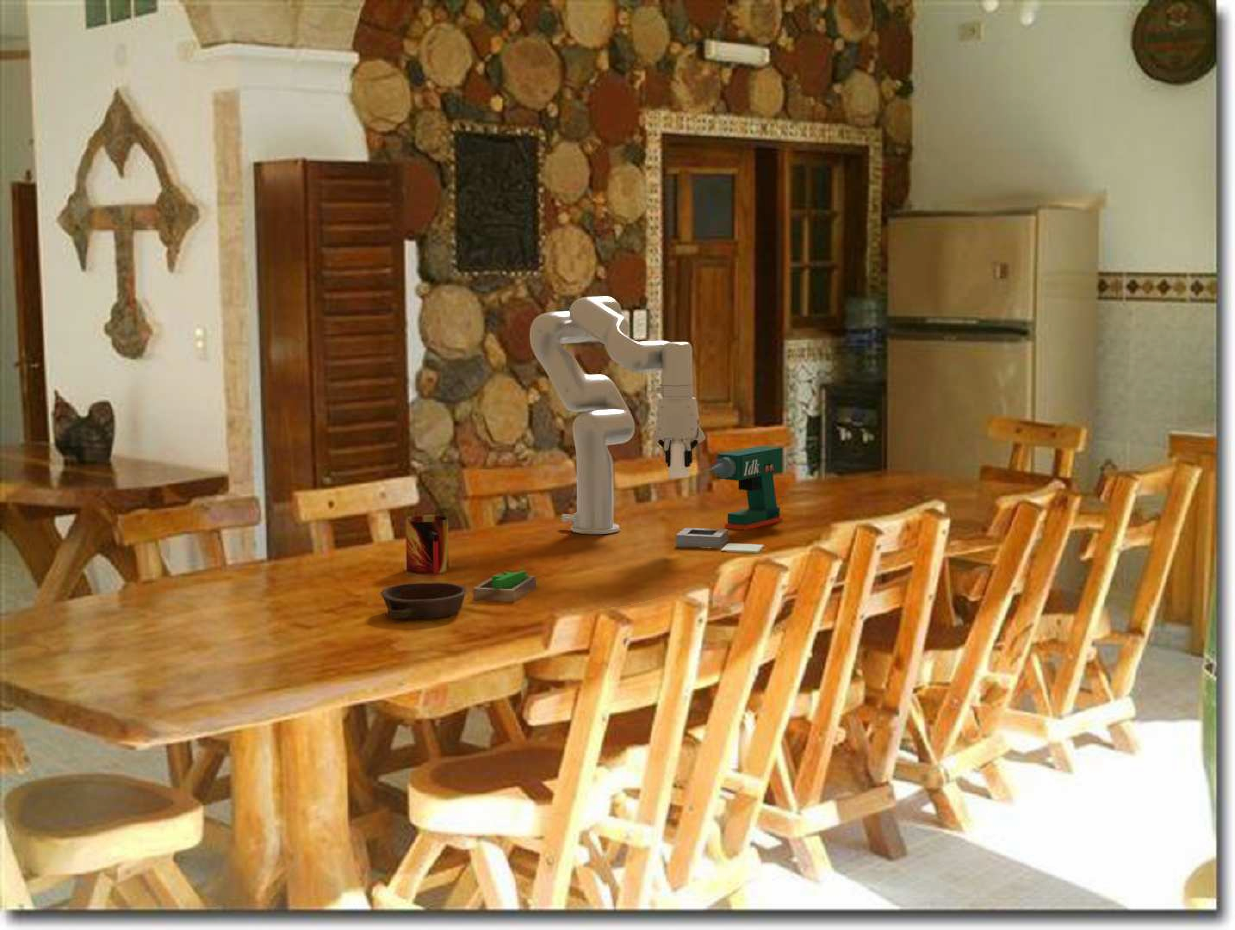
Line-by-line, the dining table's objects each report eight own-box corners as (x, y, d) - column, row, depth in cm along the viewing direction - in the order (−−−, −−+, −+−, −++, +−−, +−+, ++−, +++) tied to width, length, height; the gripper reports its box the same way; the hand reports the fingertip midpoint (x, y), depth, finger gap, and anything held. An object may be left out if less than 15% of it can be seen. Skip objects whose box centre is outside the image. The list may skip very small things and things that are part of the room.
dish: (356, 619, 336) (355, 595, 335) (422, 599, 354) (422, 576, 354) (426, 629, 327) (426, 604, 326) (490, 608, 346) (490, 584, 345)
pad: (721, 551, 408) (721, 549, 408) (727, 545, 416) (727, 543, 416) (757, 553, 405) (757, 551, 405) (763, 546, 414) (763, 544, 414)
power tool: (718, 537, 427) (718, 459, 425) (695, 534, 432) (695, 457, 429) (784, 521, 453) (785, 447, 450) (762, 518, 457) (762, 445, 454)
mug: (435, 578, 376) (434, 525, 374) (397, 570, 386) (396, 518, 384) (469, 572, 383) (468, 520, 381) (430, 564, 392) (430, 513, 391)
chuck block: (675, 547, 414) (675, 535, 414) (685, 539, 425) (685, 527, 424) (719, 548, 411) (719, 536, 411) (728, 541, 422) (728, 529, 421)
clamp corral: (473, 600, 353) (472, 588, 352) (497, 585, 368) (497, 573, 368) (513, 602, 350) (513, 590, 350) (536, 587, 366) (536, 575, 366)
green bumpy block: (511, 590, 364) (511, 569, 364) (526, 591, 362) (526, 570, 362) (484, 599, 354) (484, 577, 354) (500, 601, 352) (500, 579, 352)
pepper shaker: (663, 477, 415) (662, 433, 413) (677, 475, 419) (676, 431, 418) (680, 478, 411) (680, 433, 410) (694, 476, 415) (693, 432, 414)
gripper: (641, 393, 412) (642, 467, 414) (706, 393, 407) (708, 468, 409) (649, 391, 419) (650, 464, 421) (714, 391, 414) (715, 465, 416)
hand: (679, 465), depth 415 cm, fingers closed on pepper shaker, 3 cm apart
